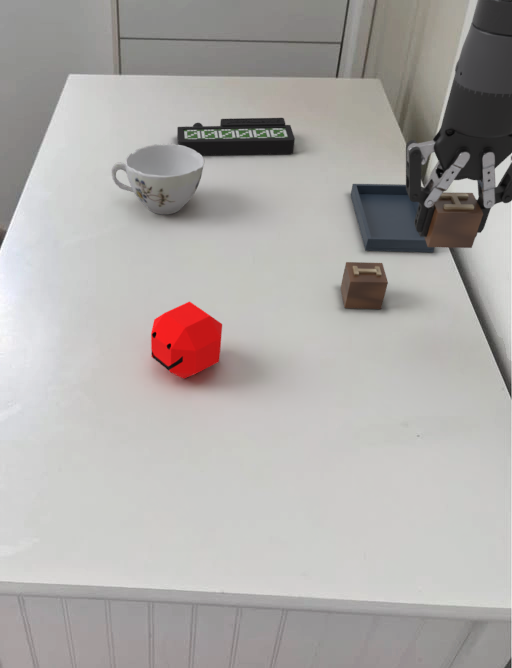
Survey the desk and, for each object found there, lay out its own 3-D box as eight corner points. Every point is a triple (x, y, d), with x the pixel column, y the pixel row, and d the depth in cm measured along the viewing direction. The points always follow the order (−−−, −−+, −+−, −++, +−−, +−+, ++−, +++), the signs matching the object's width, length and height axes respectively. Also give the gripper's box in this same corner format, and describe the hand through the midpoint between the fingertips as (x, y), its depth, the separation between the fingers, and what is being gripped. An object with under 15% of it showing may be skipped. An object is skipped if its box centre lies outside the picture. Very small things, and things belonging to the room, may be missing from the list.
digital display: (288, 114, 137) (295, 137, 130) (286, 132, 139) (293, 155, 133) (177, 116, 137) (179, 139, 130) (176, 134, 139) (178, 157, 133)
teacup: (207, 192, 123) (209, 144, 117) (196, 228, 114) (198, 178, 109) (121, 185, 125) (119, 138, 119) (105, 220, 117) (101, 171, 111)
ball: (141, 361, 92) (140, 311, 86) (190, 338, 95) (191, 288, 89) (181, 394, 87) (182, 343, 82) (230, 368, 90) (234, 317, 85)
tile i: (375, 289, 102) (382, 260, 99) (381, 309, 99) (388, 280, 95) (340, 288, 102) (346, 259, 99) (344, 308, 99) (350, 279, 96)
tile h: (461, 226, 86) (473, 190, 83) (471, 248, 83) (484, 211, 80) (419, 225, 86) (429, 189, 83) (427, 247, 83) (438, 210, 80)
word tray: (411, 196, 121) (414, 184, 119) (433, 252, 109) (437, 240, 107) (350, 195, 121) (352, 183, 120) (365, 251, 109) (367, 238, 108)
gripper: (428, 90, 70) (389, 249, 82) (580, 90, 69) (517, 251, 82) (414, 63, 75) (379, 217, 87) (555, 63, 74) (499, 219, 87)
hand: (446, 233), depth 84 cm, fingers closed on tile h, 5 cm apart
